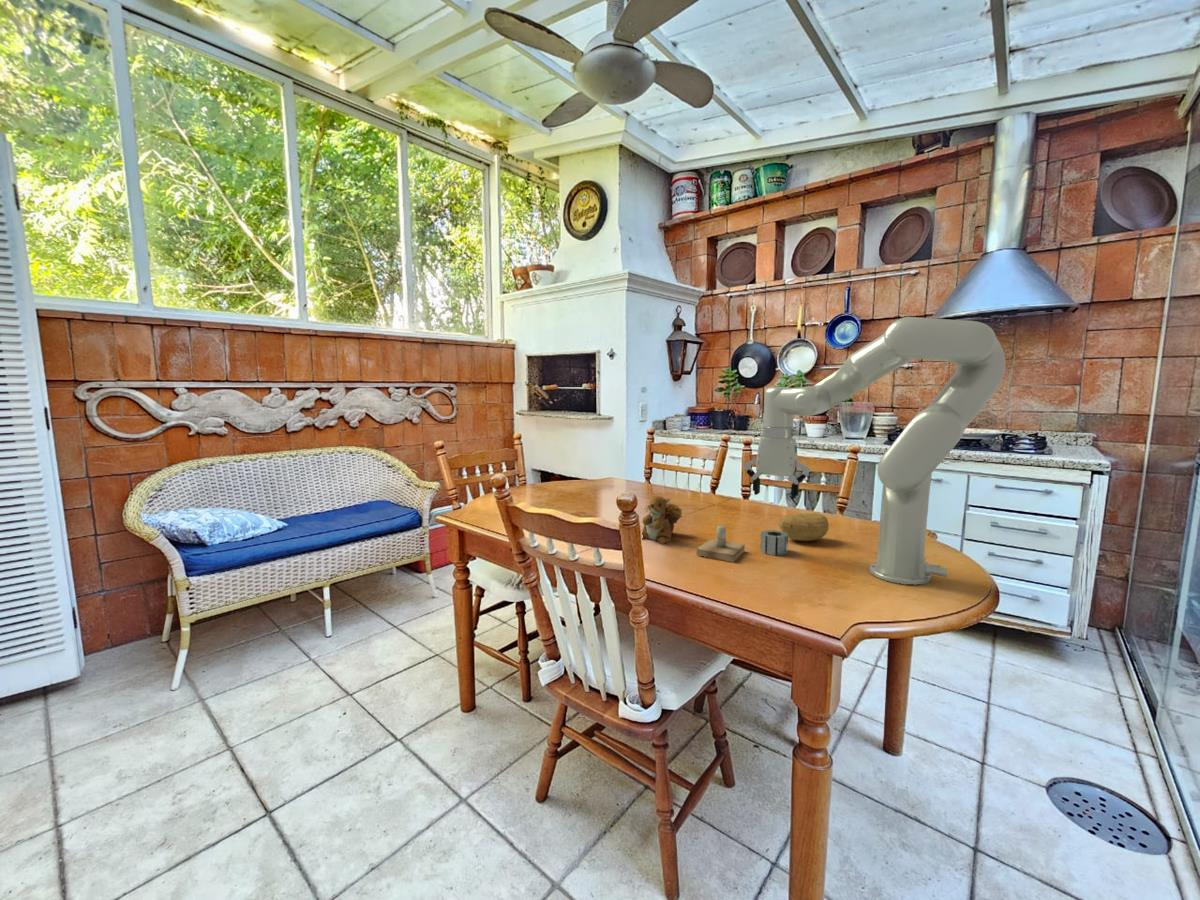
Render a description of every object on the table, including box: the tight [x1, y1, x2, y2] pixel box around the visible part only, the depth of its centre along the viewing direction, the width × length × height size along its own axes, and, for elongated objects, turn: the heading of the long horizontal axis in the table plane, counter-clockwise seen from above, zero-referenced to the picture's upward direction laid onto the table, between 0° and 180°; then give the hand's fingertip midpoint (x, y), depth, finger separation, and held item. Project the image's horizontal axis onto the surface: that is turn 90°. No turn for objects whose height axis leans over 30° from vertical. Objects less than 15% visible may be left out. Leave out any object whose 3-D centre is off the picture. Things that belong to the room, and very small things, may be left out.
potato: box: [778, 512, 830, 542], centre depth 150 cm, size 10×14×8 cm
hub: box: [760, 529, 789, 557], centre depth 141 cm, size 7×7×5 cm
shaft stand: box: [696, 525, 746, 563], centre depth 139 cm, size 10×10×8 cm
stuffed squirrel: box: [641, 494, 683, 544], centre depth 155 cm, size 10×14×13 cm
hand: (774, 495), depth 139 cm, fingers open, 9 cm apart
